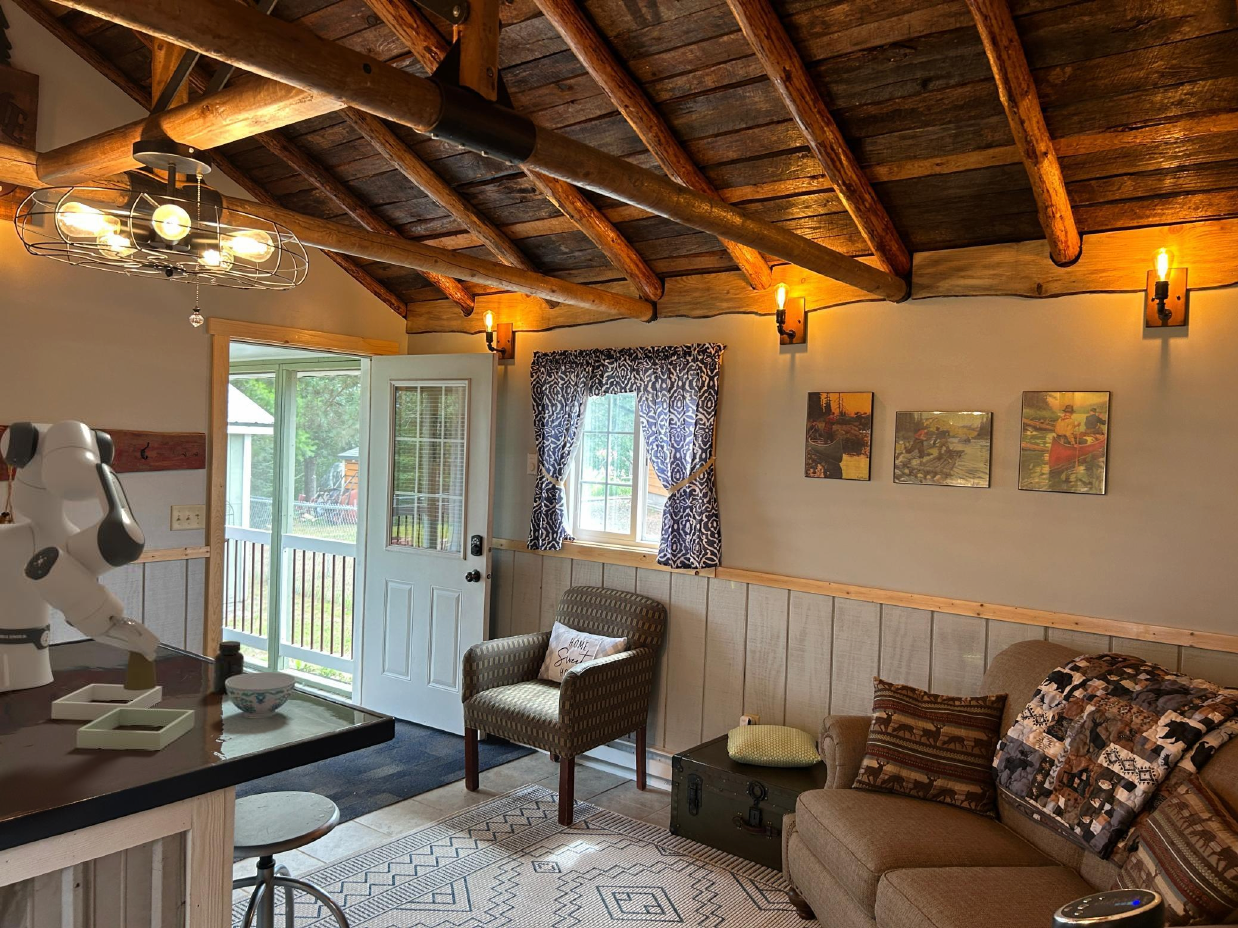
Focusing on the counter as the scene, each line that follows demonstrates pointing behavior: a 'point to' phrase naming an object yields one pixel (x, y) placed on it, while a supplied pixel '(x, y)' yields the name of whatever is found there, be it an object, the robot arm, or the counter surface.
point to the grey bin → (82, 710)
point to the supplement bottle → (227, 665)
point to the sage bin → (106, 738)
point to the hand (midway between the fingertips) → (144, 655)
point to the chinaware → (260, 692)
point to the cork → (139, 673)
